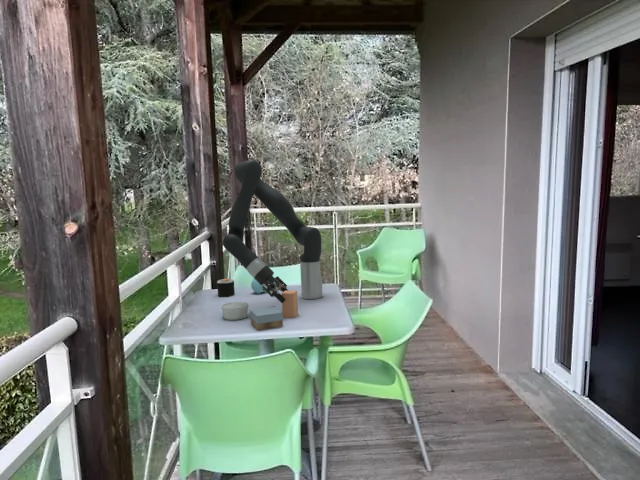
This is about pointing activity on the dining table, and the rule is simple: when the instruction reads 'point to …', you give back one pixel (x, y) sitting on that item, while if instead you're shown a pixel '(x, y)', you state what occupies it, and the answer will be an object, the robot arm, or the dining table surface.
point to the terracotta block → (290, 304)
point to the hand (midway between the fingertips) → (287, 299)
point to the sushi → (225, 287)
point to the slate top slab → (266, 315)
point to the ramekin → (235, 310)
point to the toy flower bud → (257, 287)
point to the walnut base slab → (267, 324)
